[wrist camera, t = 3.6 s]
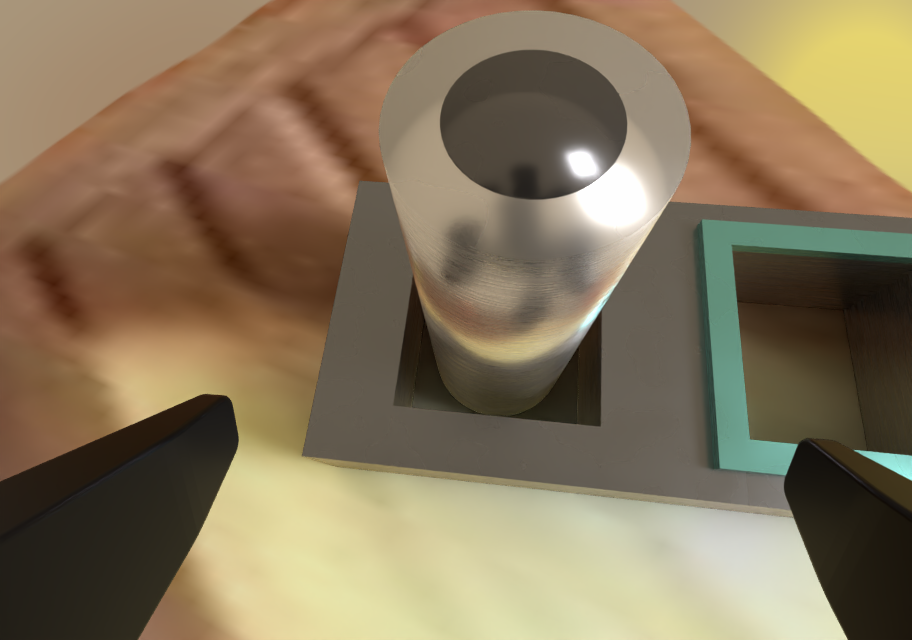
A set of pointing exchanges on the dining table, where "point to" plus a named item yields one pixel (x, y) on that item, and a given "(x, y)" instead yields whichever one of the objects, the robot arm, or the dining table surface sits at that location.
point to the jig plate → (629, 361)
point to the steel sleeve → (526, 189)
